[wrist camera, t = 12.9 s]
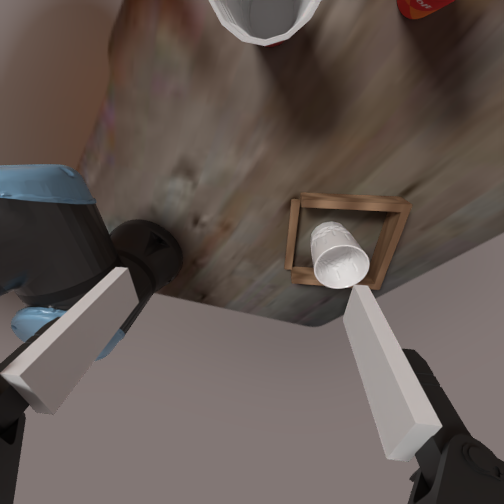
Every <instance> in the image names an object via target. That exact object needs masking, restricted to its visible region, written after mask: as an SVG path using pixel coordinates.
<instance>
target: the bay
mask: <svg viewBox="0 0 504 504" xmlns="http://www.w3.org/2000/svg"><path fill="white" fill-rule="evenodd" d="M300 202H301V206H302V207H308V208H329V209H349V210H370V211H388V212H387V215H386V218H385V221H384V224H383V227H382V230H381V233H380V236H379V239H378V242H377V245H376V248H375V250H374V253H373V256H372V259H371V262H370V265H369V270H368V272H367V274H366V276H365V277H364V278H363V279H362V280H361V281H360V282H358V283H357V284H355V285H366V286H368V287H369V289H375V290H380V287H381V285H382V282H383V279H384V277H385V274H386V272H387V269H388V267H389V264H390V262H391V259H392V256H393V254H394V251H395V249H396V246H397V244H398V241H399V239H400V236H401V233H402V231H403V228H404V226H405V223H406V221H407V218H408V216H409V213H410V210H411V208H412V204H411V203H409V202H408V201H406V200H405V199H403V198H401V197H394V196H371V195H348V194H324V193H300V199H292V200H291V209H290V219H289V228H288V237H287V247H286V256H285V265H284V267H285V269H288V270H291V281H292V283H295V284H308V285H322V286H325V285H323V284H321V283H320V282H319V281H318V280H317V278H316V276H315V274H314V268H307V267H293V266H292V263H293V255H294V247H295V239H296V231H297V224H298V216H299V208H300ZM348 288H353V286H351V287H348Z"/></svg>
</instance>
